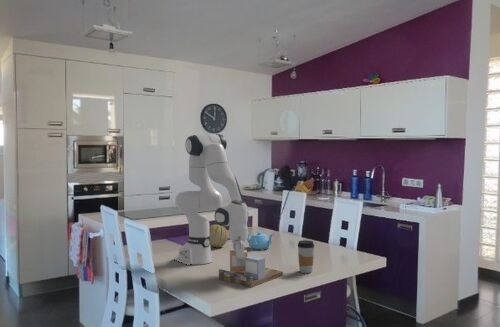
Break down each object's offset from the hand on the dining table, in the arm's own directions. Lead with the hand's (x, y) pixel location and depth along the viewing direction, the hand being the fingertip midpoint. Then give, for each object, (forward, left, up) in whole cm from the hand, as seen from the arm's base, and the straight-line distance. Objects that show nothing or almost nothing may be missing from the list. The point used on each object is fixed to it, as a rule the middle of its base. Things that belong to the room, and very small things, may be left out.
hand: (238, 263), depth 202 cm
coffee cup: (+20, +29, -7) cm, 36 cm away
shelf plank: (+5, +4, -7) cm, 9 cm away
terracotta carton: (0, 0, -3) cm, 3 cm away
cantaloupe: (-54, +41, -7) cm, 68 cm away
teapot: (-31, +55, -7) cm, 64 cm away
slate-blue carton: (+10, 0, -5) cm, 11 cm away
